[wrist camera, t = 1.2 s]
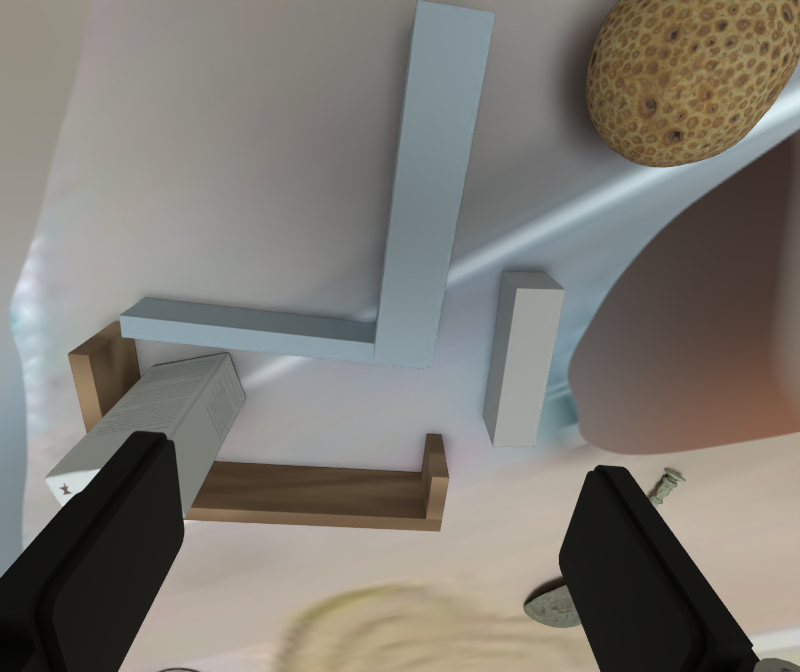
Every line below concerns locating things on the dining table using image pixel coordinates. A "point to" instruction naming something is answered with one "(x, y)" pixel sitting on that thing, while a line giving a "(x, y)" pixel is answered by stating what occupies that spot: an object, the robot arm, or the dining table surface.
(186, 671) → the milk bottle
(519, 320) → the grey plastic stick
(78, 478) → the skincare box
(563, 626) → the soupspoon
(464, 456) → the dining table surface
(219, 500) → the wooden u-shaped tray
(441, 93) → the crook
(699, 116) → the natural sponge
